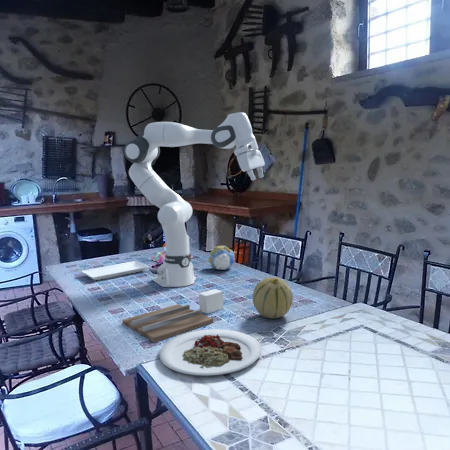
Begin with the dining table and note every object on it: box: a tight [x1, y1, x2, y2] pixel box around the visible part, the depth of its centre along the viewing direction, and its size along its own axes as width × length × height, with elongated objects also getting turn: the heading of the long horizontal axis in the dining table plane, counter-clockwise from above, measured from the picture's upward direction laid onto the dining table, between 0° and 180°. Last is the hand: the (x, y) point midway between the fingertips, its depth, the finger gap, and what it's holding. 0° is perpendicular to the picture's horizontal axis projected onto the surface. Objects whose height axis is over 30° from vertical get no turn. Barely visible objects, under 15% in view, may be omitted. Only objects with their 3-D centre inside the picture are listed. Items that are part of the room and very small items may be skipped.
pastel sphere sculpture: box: [151, 242, 193, 264], centre depth 251 cm, size 25×24×9 cm
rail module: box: [198, 288, 224, 315], centre depth 163 cm, size 4×9×7 cm, turn 130°
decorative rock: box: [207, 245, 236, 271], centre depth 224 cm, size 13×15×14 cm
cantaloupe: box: [252, 276, 294, 319], centre depth 152 cm, size 15×15×15 cm
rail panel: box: [121, 303, 214, 343], centre depth 150 cm, size 22×24×3 cm
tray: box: [80, 260, 150, 281], centre depth 222 cm, size 17×31×4 cm, turn 128°
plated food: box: [158, 328, 262, 376], centre depth 125 cm, size 30×30×3 cm
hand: (257, 178), depth 183 cm, fingers open, 8 cm apart
